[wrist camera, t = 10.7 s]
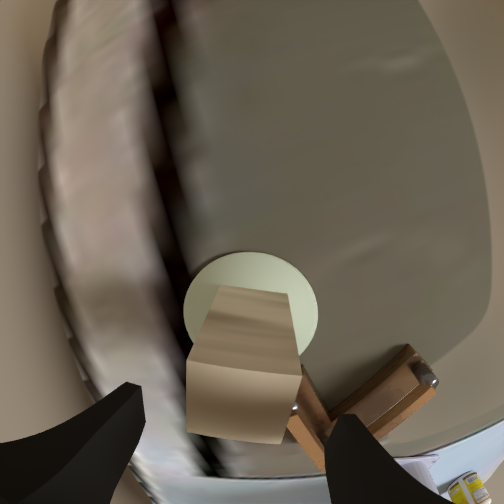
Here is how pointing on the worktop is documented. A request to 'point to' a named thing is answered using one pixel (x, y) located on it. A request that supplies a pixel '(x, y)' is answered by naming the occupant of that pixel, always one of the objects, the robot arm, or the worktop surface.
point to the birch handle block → (243, 367)
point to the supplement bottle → (468, 490)
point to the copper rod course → (363, 403)
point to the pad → (253, 277)
